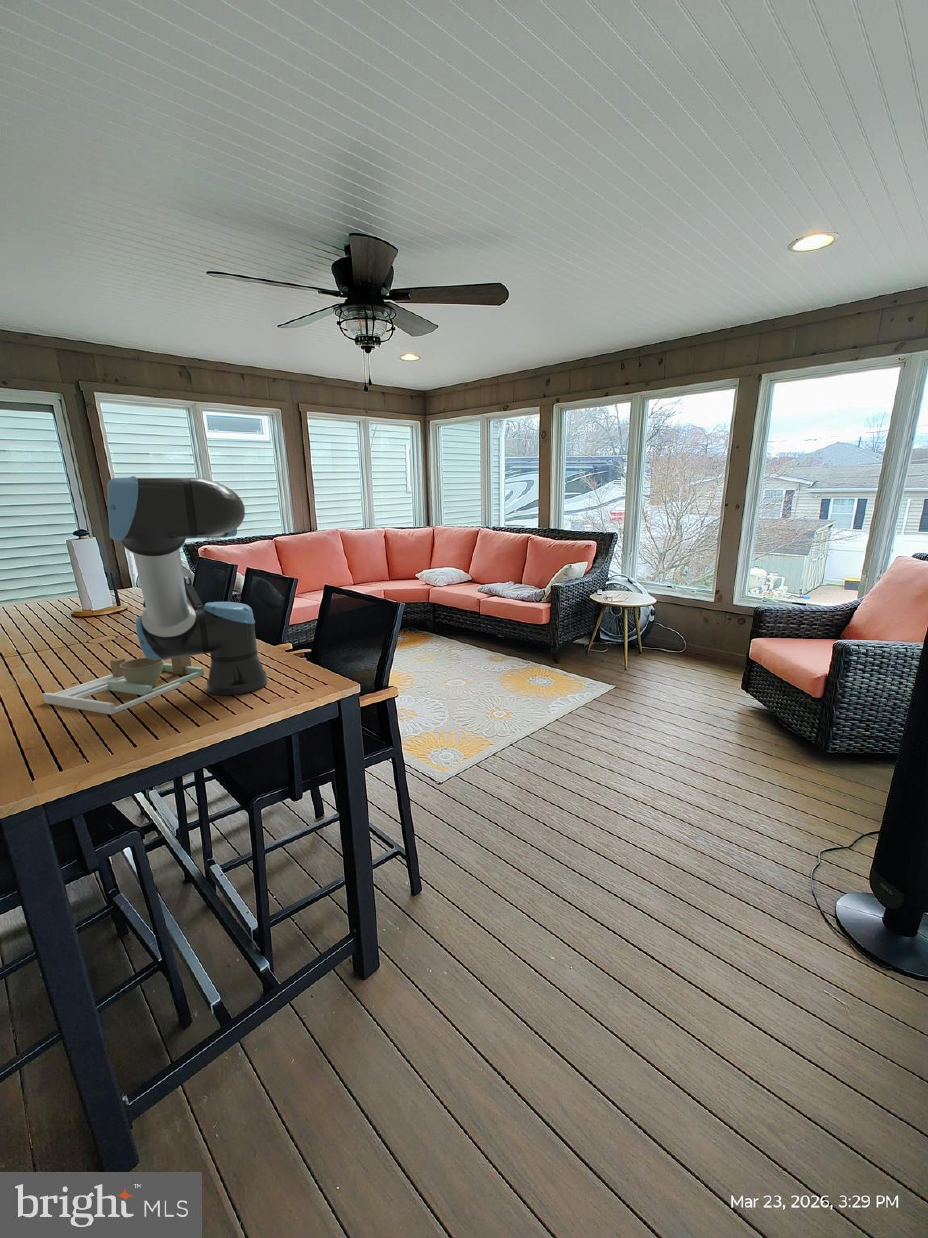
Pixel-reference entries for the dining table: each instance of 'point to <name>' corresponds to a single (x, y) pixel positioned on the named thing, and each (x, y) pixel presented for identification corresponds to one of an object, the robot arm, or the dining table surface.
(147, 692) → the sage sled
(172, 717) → the dining table surface
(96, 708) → the frame
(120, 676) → the pale long handled piece
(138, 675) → the olive green bowl
